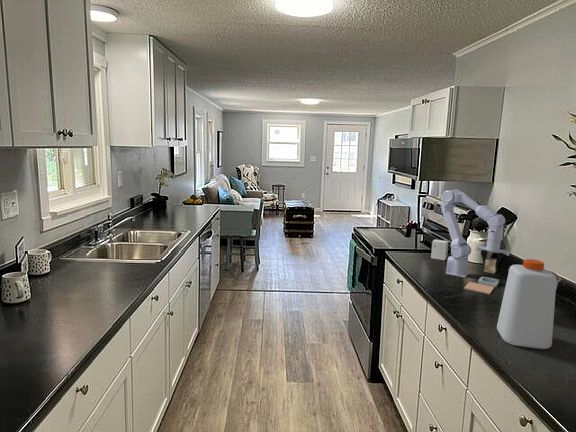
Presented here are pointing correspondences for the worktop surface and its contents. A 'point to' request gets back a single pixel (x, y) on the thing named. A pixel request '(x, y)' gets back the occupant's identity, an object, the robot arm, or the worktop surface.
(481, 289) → the mat
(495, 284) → the holder
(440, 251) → the small box
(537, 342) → the plastic bottle
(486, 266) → the birch block
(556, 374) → the worktop surface
